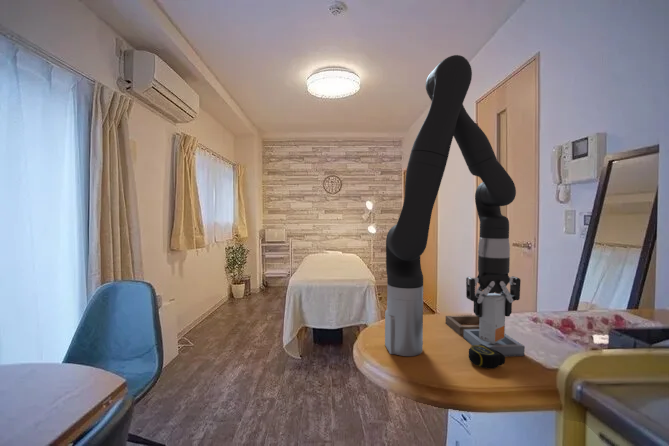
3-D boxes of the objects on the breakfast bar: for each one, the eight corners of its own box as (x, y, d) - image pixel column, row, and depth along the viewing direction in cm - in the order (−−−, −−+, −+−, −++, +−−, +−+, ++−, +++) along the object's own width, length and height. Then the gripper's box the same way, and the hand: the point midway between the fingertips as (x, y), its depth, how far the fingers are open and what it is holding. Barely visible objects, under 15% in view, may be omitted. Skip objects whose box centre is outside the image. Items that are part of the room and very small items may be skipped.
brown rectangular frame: (459, 335, 94) (459, 327, 94) (445, 323, 104) (445, 315, 104) (500, 334, 95) (500, 325, 95) (482, 322, 105) (482, 314, 105)
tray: (486, 357, 80) (486, 347, 80) (463, 338, 92) (463, 329, 92) (524, 355, 81) (524, 346, 81) (497, 337, 93) (497, 328, 93)
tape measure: (506, 368, 75) (507, 352, 74) (485, 374, 72) (485, 358, 72) (482, 356, 81) (483, 341, 81) (462, 361, 78) (462, 346, 78)
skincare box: (494, 344, 83) (495, 298, 82) (478, 339, 86) (479, 295, 86) (505, 339, 86) (506, 295, 86) (489, 334, 90) (490, 291, 89)
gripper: (474, 257, 81) (473, 321, 82) (528, 256, 82) (527, 320, 83) (461, 253, 89) (460, 312, 89) (510, 252, 90) (509, 311, 90)
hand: (492, 315), depth 86 cm, fingers closed on skincare box, 7 cm apart
